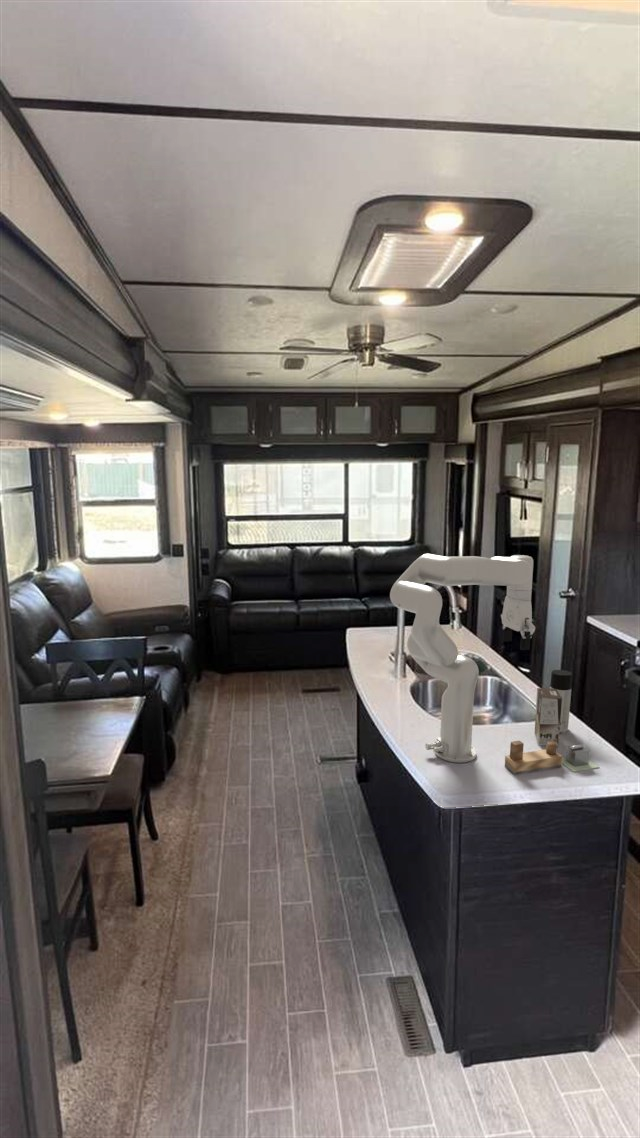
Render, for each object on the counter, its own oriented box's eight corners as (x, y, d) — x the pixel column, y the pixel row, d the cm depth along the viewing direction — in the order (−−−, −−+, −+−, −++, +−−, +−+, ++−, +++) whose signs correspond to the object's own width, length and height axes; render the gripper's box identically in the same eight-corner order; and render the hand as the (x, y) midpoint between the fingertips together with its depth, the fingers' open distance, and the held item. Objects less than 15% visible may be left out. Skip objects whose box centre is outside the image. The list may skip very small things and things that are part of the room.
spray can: (544, 724, 209) (548, 668, 205) (564, 724, 208) (568, 669, 205) (550, 733, 202) (554, 675, 199) (571, 733, 202) (575, 676, 198)
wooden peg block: (514, 774, 175) (516, 747, 174) (504, 766, 180) (506, 739, 178) (561, 767, 180) (563, 740, 178) (550, 759, 184) (552, 733, 183)
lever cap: (574, 766, 179) (575, 749, 178) (565, 760, 183) (566, 743, 182) (588, 764, 180) (589, 747, 179) (579, 758, 184) (580, 741, 183)
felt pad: (573, 772, 177) (573, 771, 177) (555, 759, 184) (555, 758, 184) (599, 767, 179) (599, 766, 179) (580, 755, 187) (580, 754, 187)
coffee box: (559, 747, 192) (562, 699, 189) (537, 745, 193) (541, 697, 190) (554, 734, 201) (557, 688, 198) (533, 733, 202) (536, 687, 199)
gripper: (493, 589, 201) (491, 638, 204) (525, 600, 185) (521, 654, 188) (513, 587, 203) (510, 637, 206) (546, 599, 187) (542, 652, 190)
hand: (515, 645), depth 197 cm, fingers open, 9 cm apart
